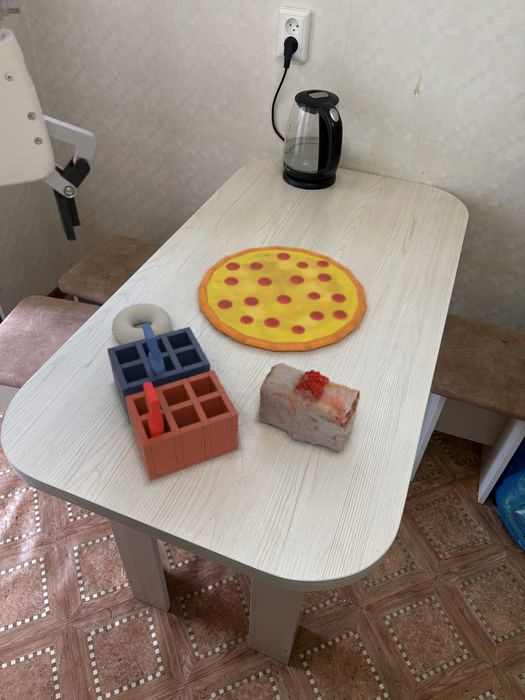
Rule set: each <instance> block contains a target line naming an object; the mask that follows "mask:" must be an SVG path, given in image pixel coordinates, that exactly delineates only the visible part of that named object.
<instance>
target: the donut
mask: <svg viewBox="0 0 525 700" xmlns="http://www.w3.org/2000/svg"><path fill="white" fill-rule="evenodd" d="M172 322H173V321H172V319H171V316H170V314H169V313H168V312H167V311H166V310H165V309H164V308H163V307H161V306H158V305H157V304H152V303H136V304H135V303H134V304H132V305H129V306H127V307H124V308H123V309H121V310H120V311H119V312H118V313H116V315H115V317H114V318H113V320H112V325H111V330H112V334H113V336H114V338H115V339H116V340H117V342H119V343H120V344H121V345H123V344H127V343H130V342H135V341H138V340H142V339H145V335H144V331H143V328H142V327H141V328H140V327H134V326H135V325H138V324H143V323H149V324H150V326H151V328H152V330H153V332H154V334H155V336H157V335H160V334H164V333H168V332H172Z"/></svg>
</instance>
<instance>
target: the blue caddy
mask: <svg viewBox="0 0 525 700" xmlns="http://www.w3.org/2000/svg"><path fill="white" fill-rule="evenodd" d="M156 340H157V344H158V348H159V350H160V351H161V353H162V357H163V361H164V365H165V369H166V372H165V373H161V374H158V375H155V374H154V372H153V370H152V367H151V364H150V360H149V356H148V354H149V352H150V350H149V348H148V346H147V342H146V339H142V340H138V341H135V342H130V343H127V344H120V345H119V344H118V345H115V346H113V347H109V348H107V355H108V358H109V363H110V368H111V373H112V376H113V380H114V384H115V388H116V390H117V394H118V395H119V399H120V402H121V404H122V407H123V410H124V412H125V415H126V419H127V421H128V424H129V426H130V427H131V423H130V419H129V414H128V410H127V405H126V401H125V397H126V396H129V395H132V394H136V393H139V392H142V391H144V388H143V383H147V382H150V381H151V383H152V385H153V388H156V387H159V386H162V385H165V384H169V383H172V382H175V381H179V380H182V379H185V378H187V379H188V378H189V377H192V376H196V375H199V374H202V373H205V372H208V371H211V363H210V361H209V359H208V358H207V355H206V354H205V352H204V350H203V348H202V346H201V345H200V343H199V341H198V339H197V337H196V335H195V334H194V332H193V330H192V328H191V327H190V326H187V327H184V328H179V329H176V330H171V331H170V332H168V333H164V334H160V335H157V336H156Z"/></svg>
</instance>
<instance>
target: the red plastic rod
mask: <svg viewBox="0 0 525 700" xmlns="http://www.w3.org/2000/svg"><path fill="white" fill-rule="evenodd" d="M143 388H144V394H145V399H146V405H147V407H148V410H149V412H148V415H147V419H148V424H149V430H150V435H151V438H153V437H156V436H159V435H162V434H165V431H164V424H163V418H162V413H161V411H160V405H159V399H158V397H157V395H156V392H155V390H154V388H153V385H152V383H151V381H150V382H147V383H143Z"/></svg>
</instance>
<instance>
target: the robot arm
mask: <svg viewBox="0 0 525 700" xmlns="http://www.w3.org/2000/svg"><path fill="white" fill-rule="evenodd" d="M19 5H20V4H19V1H18V0H0V22H3V21H5V19H4V17H10V14H11V15H12V14H21V9H20V6H19ZM43 113H44V112H43V110H42V107H41V104H40V101H39V97H38V94H37V91H36V87H35V85H34V81H33V79H32V76H31V73H30V71H29V68H28V65H27V61H26V58H25V56H24V53H23V52H22V49H21V46H20V45H19V43H18V40H17V38H16V36H15V34H14V32H13V31H12V30H11V29H8V28H4V27H2V24H1V23H0V188H3V187H10V186H11V187H12V186H17V185H24V184H29V183H34V182H40V181H43V182H44V183H45V184H47V185H48V186H50V187H51V188H52V191H53V196H54V199H55V203H56V207H57V210H58V215H59V219H60V223H61V225H62V229H63V231H64V234H65V237H66V239H67V241H70V242H73V241H77V236H76V232H75V228H74V227H79V226H81V221H80V216H79V213H78V212H79V211H78V209H77V203H76V199H75V197H76V196H77V193H78V189H79V187H80V186H81V184H82V183H83V182H84V180H85V179H86V178H87V177H88V176H89V173H90V172H91V165H92V162H93V160H94V157H95V155H96V150H97V147H98V139H97V138H96V136H95V134H94V133H93V132H92V131H89V130H87V129H85V128H81V127H78V126H76V125H73V124H71V123H68V122H65V121H62V120H59V119H57V118H53V117H51V116H48V115H45V114H43ZM51 139H52V140H55V141H58V142H62V143H65V144H67V145H70V146H73V147H75V150H74V154H73V156H72V157H71V159H70V160H69V161H68V163H67V164H66V165H65V167H64V168H63V167H61V166H60V164H57V163H56V161H55V154H54V150H53V149H54V148H53V146H52V145H53V144H52V141H51Z"/></svg>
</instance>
